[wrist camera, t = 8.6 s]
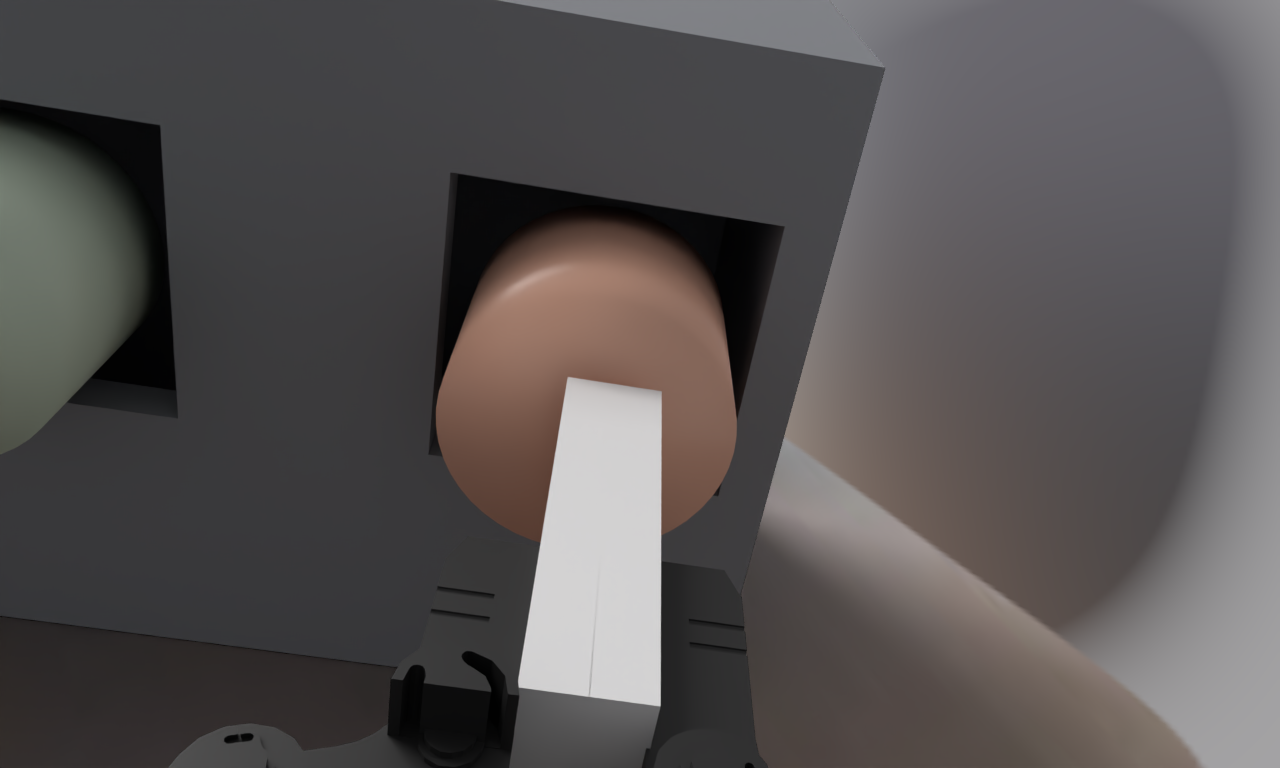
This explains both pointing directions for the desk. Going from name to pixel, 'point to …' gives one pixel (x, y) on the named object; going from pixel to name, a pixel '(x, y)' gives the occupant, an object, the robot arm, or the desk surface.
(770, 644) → the desk surface
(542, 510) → the terracotta button
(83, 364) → the sage button
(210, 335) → the grey button box
